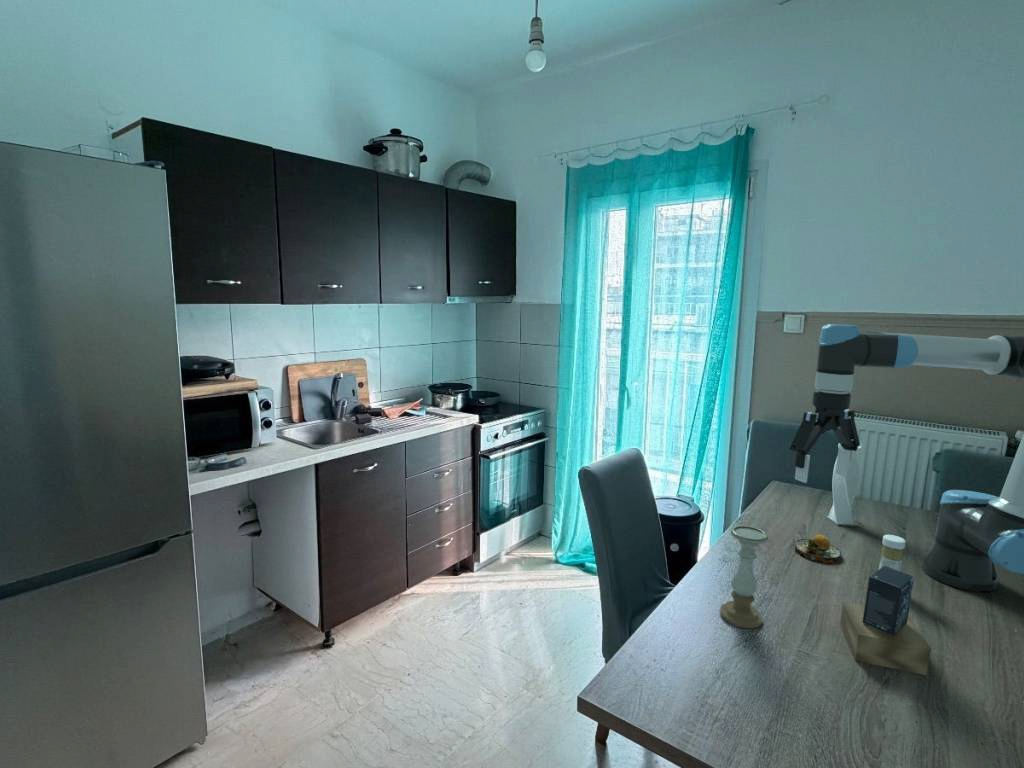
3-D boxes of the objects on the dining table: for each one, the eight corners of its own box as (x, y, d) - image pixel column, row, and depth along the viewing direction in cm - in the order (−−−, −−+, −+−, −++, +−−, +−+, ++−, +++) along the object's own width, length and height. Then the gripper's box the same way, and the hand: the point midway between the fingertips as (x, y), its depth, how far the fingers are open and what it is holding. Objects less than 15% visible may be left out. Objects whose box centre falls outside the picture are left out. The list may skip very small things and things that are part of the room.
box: (894, 637, 104) (901, 587, 103) (861, 623, 109) (868, 575, 107) (908, 623, 109) (915, 575, 108) (876, 610, 114) (882, 564, 112)
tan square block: (903, 639, 114) (907, 614, 113) (926, 676, 102) (931, 648, 102) (839, 627, 117) (842, 602, 117) (854, 661, 106) (858, 634, 105)
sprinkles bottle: (884, 582, 136) (891, 532, 134) (902, 591, 132) (910, 540, 130) (871, 585, 135) (878, 535, 133) (889, 594, 131) (897, 543, 128)
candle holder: (759, 610, 122) (769, 527, 119) (764, 632, 114) (774, 544, 111) (719, 602, 125) (726, 521, 122) (720, 623, 117) (728, 537, 114)
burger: (828, 546, 157) (831, 521, 156) (849, 565, 145) (853, 539, 144) (786, 543, 158) (788, 519, 157) (803, 562, 146) (806, 537, 145)
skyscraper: (861, 528, 169) (873, 442, 165) (836, 527, 169) (847, 441, 165) (845, 517, 178) (856, 435, 173) (821, 516, 178) (831, 434, 173)
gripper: (854, 386, 132) (843, 468, 136) (779, 390, 123) (769, 478, 127) (884, 391, 125) (872, 477, 129) (807, 396, 116) (796, 488, 120)
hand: (821, 478), depth 128 cm, fingers open, 13 cm apart
